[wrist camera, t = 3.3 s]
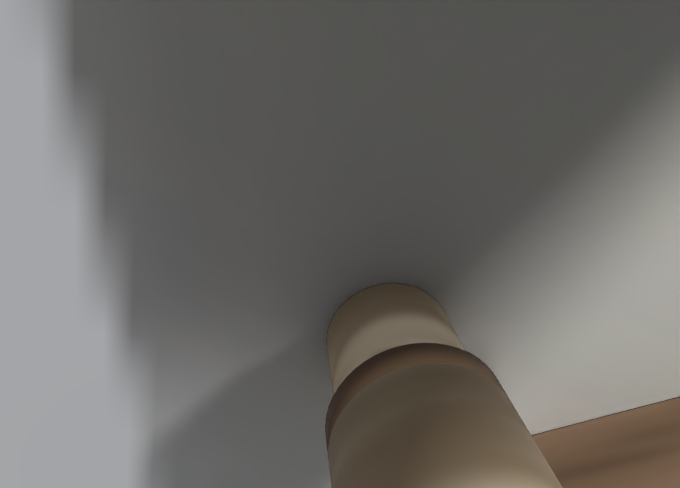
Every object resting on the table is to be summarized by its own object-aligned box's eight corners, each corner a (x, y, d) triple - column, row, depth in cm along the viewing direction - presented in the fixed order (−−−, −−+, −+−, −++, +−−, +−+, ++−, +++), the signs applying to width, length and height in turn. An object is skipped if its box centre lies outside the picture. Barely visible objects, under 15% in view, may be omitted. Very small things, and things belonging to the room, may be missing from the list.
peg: (298, 294, 16) (338, 814, 6) (446, 256, 16) (759, 704, 6) (334, 416, 17) (418, 1003, 7) (470, 381, 17) (750, 915, 7)
